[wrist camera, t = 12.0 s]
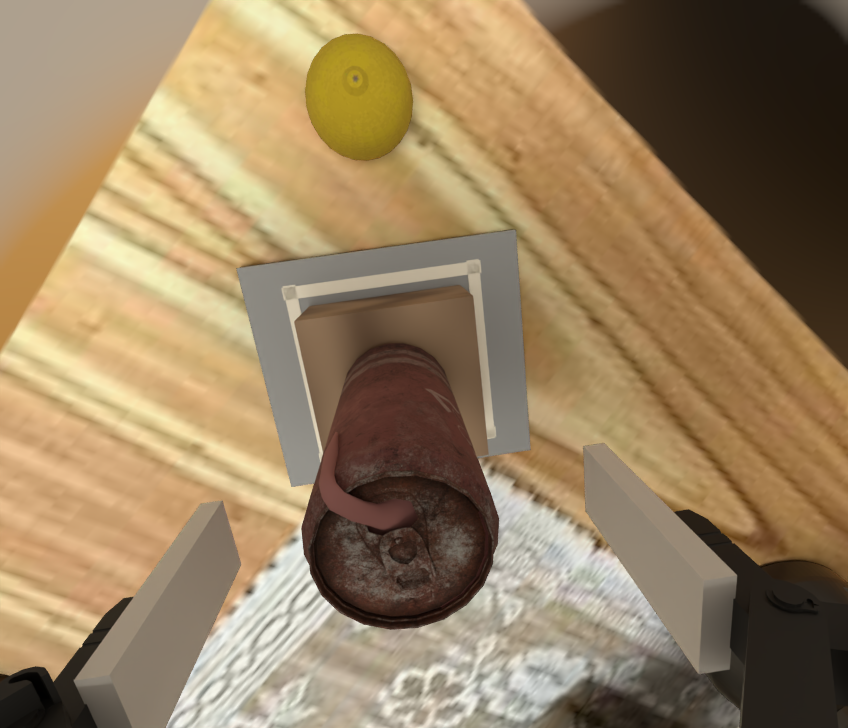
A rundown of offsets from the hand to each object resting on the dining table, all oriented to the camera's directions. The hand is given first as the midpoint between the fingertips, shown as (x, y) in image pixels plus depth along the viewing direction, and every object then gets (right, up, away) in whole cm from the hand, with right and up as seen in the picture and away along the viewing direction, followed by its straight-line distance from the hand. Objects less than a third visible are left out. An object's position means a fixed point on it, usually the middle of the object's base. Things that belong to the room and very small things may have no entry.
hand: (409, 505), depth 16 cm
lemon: (-3, +20, +11) cm, 23 cm away
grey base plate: (-1, +5, +16) cm, 17 cm away
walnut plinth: (-1, +5, +16) cm, 17 cm away
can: (-1, +4, +10) cm, 11 cm away
